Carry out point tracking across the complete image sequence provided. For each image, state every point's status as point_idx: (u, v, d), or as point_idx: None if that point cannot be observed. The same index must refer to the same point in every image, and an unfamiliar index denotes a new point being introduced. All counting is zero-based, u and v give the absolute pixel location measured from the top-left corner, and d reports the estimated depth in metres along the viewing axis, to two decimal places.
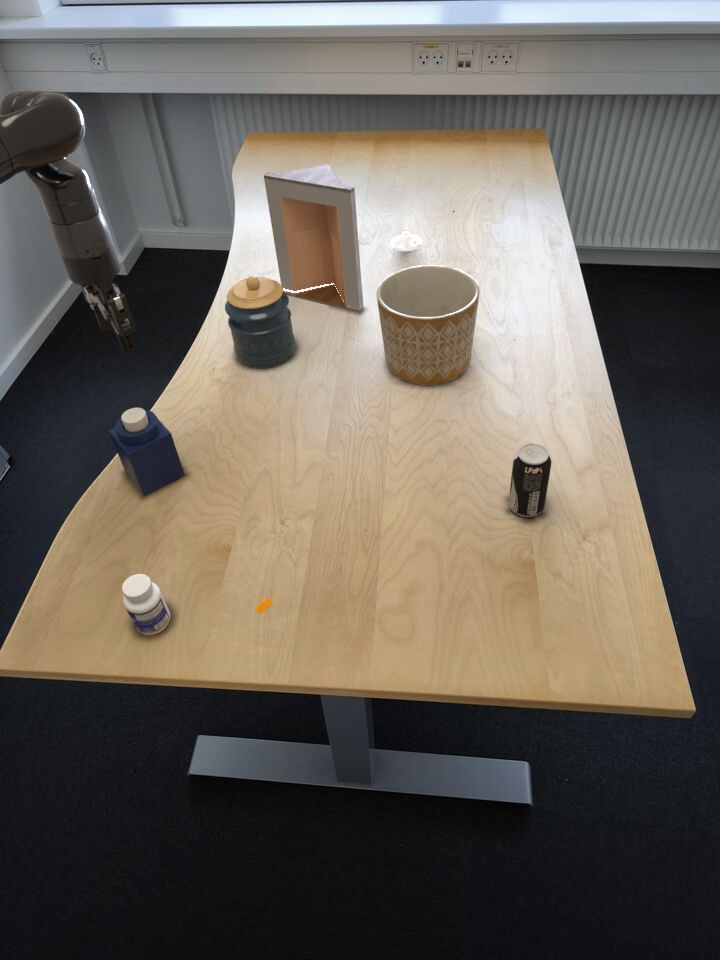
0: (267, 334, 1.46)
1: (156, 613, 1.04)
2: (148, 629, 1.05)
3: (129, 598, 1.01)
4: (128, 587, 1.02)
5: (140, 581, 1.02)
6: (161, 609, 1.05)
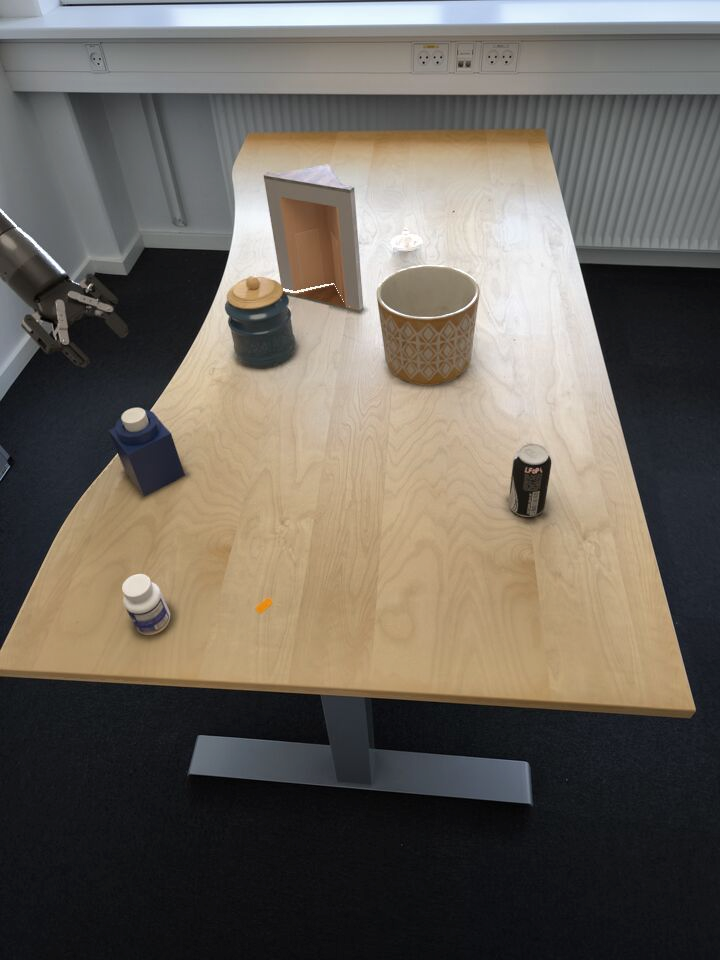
0: (267, 334, 1.46)
1: (156, 613, 1.04)
2: (148, 629, 1.05)
3: (129, 598, 1.01)
4: (128, 587, 1.02)
5: (140, 581, 1.02)
6: (161, 609, 1.05)
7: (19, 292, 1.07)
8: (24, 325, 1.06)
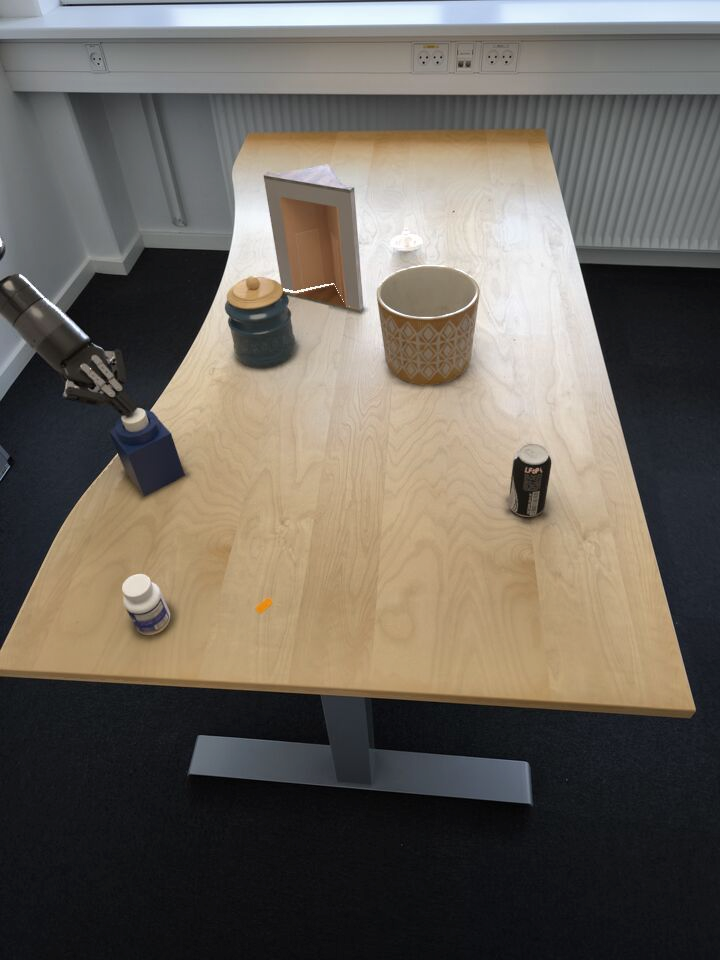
0: (267, 334, 1.46)
1: (156, 613, 1.04)
2: (148, 629, 1.05)
3: (129, 598, 1.01)
4: (128, 587, 1.02)
5: (140, 581, 1.02)
6: (161, 609, 1.05)
7: (46, 358, 1.15)
8: (68, 397, 1.16)
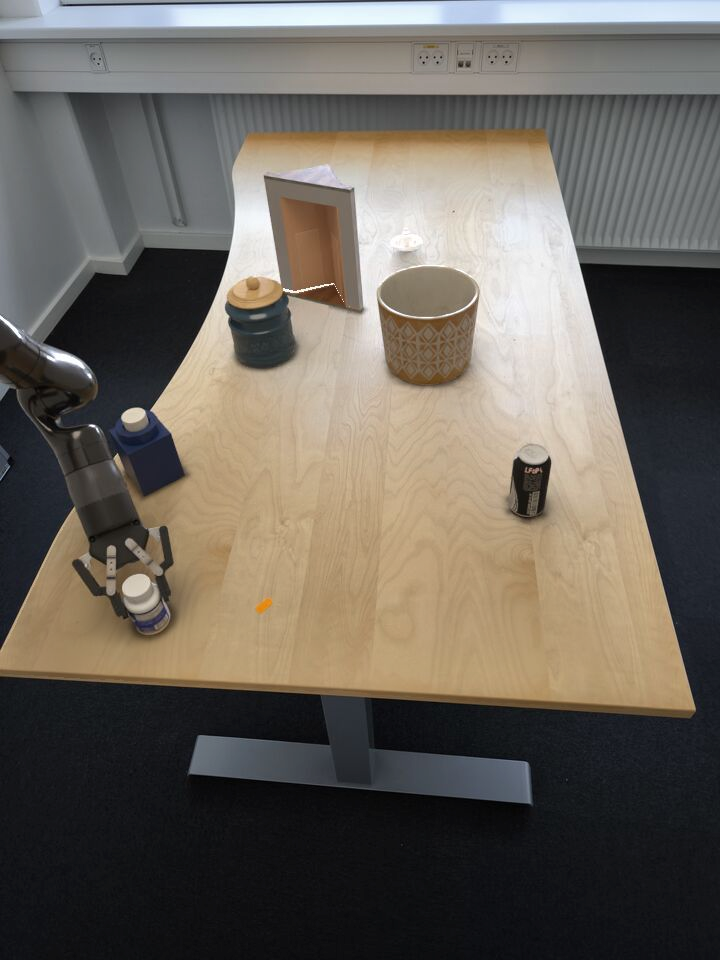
0: (267, 334, 1.46)
1: (156, 613, 1.04)
2: (148, 629, 1.05)
3: (129, 598, 1.01)
4: (128, 587, 1.02)
5: (140, 581, 1.02)
6: (161, 609, 1.05)
7: None
8: None
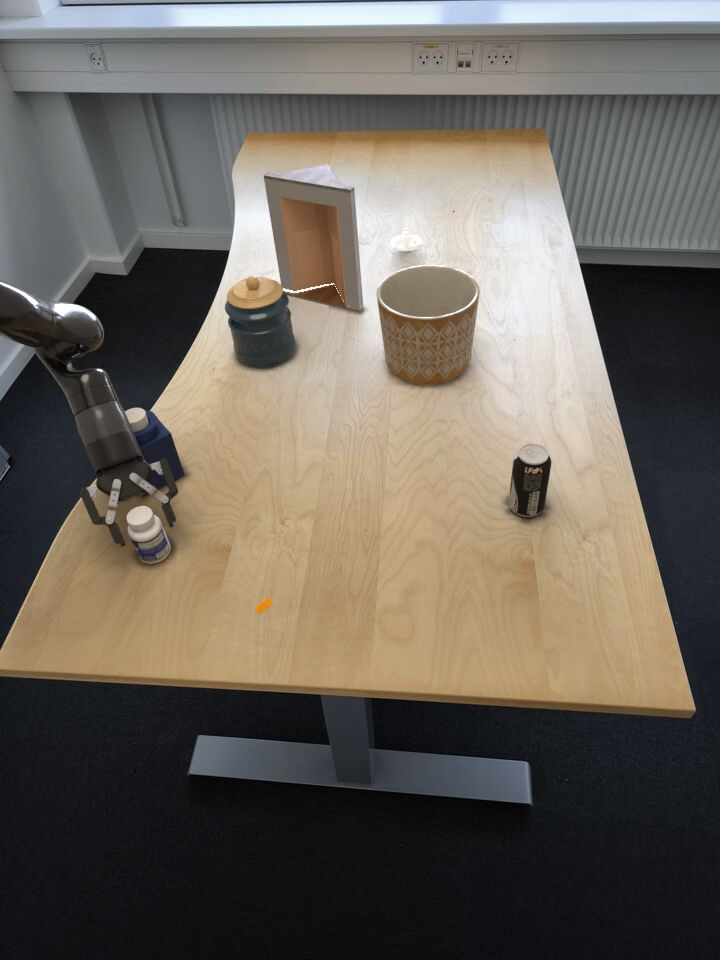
0: (267, 334, 1.46)
1: (157, 542, 1.13)
2: (150, 557, 1.15)
3: (133, 527, 1.11)
4: (132, 517, 1.11)
5: (143, 512, 1.12)
6: (162, 539, 1.14)
7: None
8: None
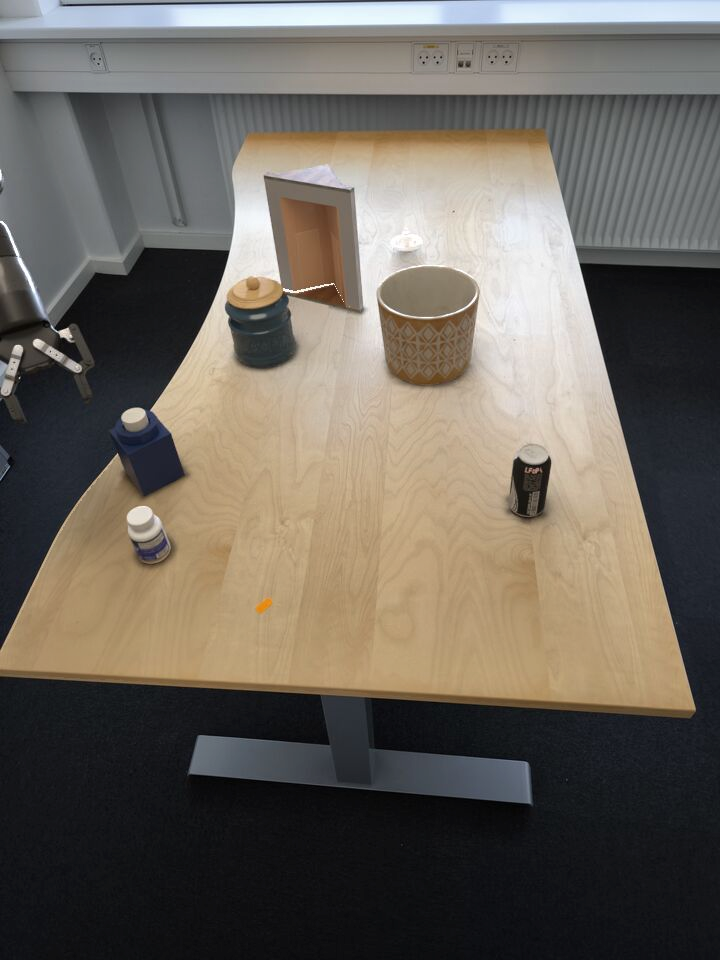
0: (267, 334, 1.46)
1: (157, 542, 1.13)
2: (150, 557, 1.15)
3: (133, 527, 1.11)
4: (132, 517, 1.11)
5: (143, 512, 1.12)
6: (162, 539, 1.14)
7: None
8: None
